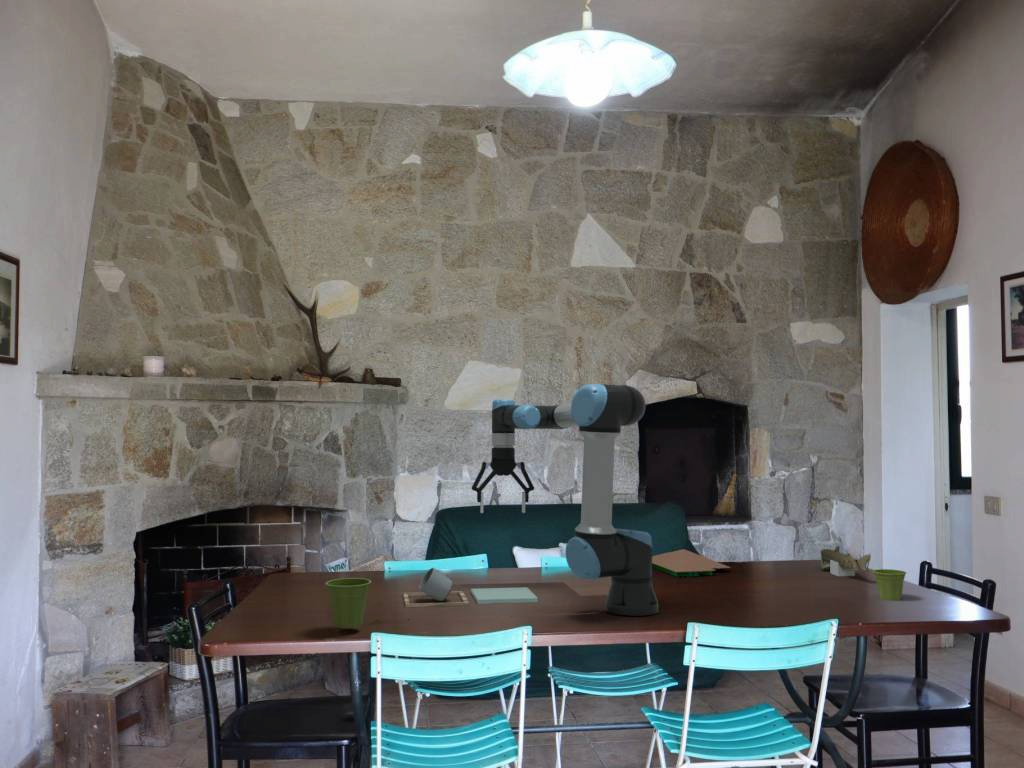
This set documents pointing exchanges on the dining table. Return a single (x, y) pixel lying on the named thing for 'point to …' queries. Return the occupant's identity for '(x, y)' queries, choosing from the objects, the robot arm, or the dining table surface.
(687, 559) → the tan flat piece
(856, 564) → the wood carving
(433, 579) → the ceramic mug
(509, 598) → the sage board
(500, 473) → the robot arm
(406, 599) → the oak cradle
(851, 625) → the dining table surface
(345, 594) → the plant pot
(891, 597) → the plant pot
